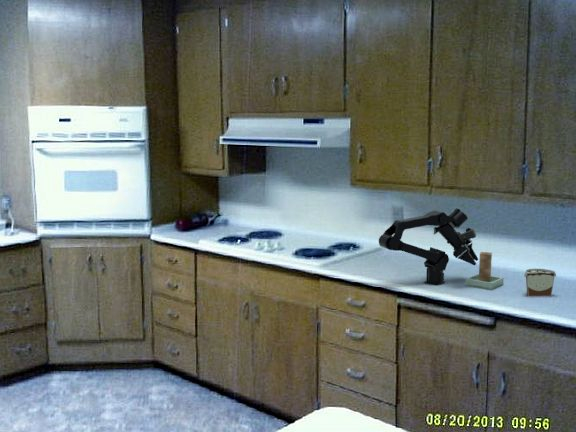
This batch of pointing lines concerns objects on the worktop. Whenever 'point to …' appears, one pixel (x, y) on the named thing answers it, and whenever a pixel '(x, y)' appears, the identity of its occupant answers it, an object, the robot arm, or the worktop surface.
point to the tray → (475, 282)
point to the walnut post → (485, 266)
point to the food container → (539, 282)
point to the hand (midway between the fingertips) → (476, 262)
